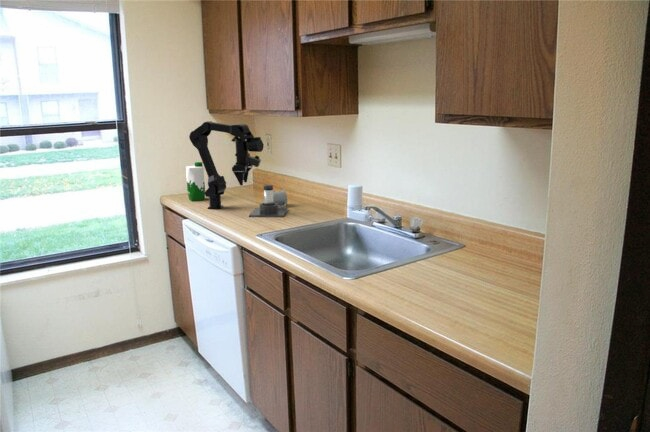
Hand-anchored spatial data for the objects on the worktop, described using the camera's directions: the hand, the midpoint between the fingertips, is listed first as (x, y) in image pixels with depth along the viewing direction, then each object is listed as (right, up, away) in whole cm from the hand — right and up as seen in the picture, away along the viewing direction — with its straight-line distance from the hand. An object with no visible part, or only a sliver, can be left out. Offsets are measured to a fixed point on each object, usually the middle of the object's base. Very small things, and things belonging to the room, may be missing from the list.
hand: (243, 183), depth 247 cm
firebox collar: (+13, -14, -4) cm, 19 cm away
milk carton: (-30, -7, +31) cm, 44 cm away
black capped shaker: (+13, -13, -4) cm, 19 cm away
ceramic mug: (+16, -11, +12) cm, 23 cm away
